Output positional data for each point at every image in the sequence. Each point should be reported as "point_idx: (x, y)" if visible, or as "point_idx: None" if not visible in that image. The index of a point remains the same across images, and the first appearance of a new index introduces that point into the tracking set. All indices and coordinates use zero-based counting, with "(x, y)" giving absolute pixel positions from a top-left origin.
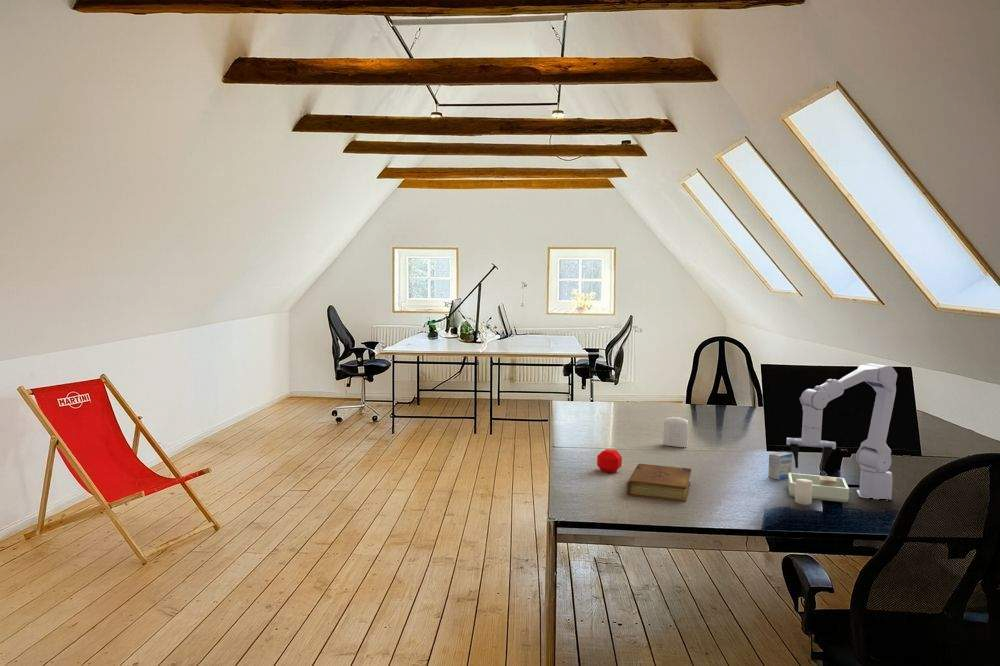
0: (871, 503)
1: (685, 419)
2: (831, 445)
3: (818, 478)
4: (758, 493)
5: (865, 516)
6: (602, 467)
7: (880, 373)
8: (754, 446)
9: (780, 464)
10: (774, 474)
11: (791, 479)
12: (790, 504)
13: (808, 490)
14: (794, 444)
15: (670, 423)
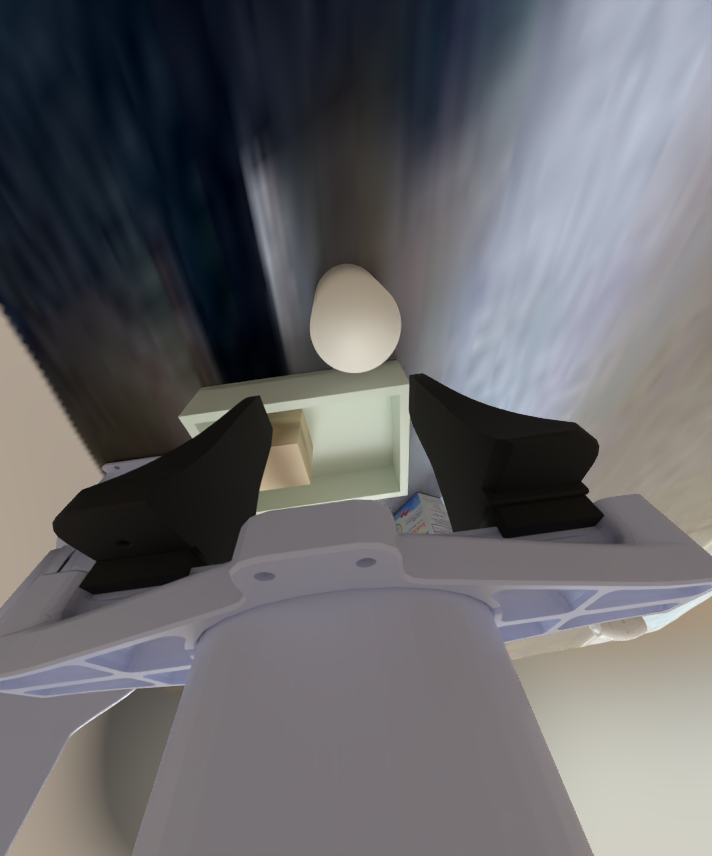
0: (137, 416)
1: (605, 638)
2: (54, 621)
3: (318, 497)
4: (506, 339)
5: (32, 190)
6: None
7: None
8: None
9: (428, 531)
10: (432, 504)
11: (402, 431)
12: (399, 228)
13: (327, 281)
14: (549, 518)
15: (632, 619)
